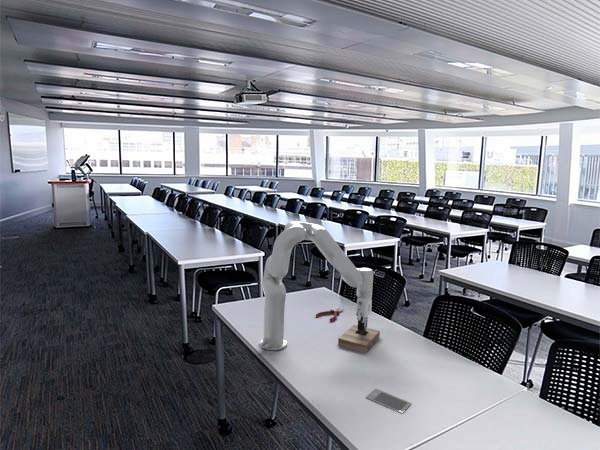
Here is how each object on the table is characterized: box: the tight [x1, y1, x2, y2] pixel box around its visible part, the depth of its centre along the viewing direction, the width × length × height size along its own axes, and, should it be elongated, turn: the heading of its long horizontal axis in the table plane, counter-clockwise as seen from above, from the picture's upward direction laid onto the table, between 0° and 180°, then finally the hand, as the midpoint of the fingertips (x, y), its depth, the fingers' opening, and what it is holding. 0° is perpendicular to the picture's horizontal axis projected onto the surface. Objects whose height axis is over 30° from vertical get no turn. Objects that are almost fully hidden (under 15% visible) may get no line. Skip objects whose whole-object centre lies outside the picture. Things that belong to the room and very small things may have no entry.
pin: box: [359, 315, 368, 335], centre depth 202 cm, size 4×4×9 cm
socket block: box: [337, 324, 381, 354], centre depth 201 cm, size 20×14×4 cm
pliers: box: [315, 307, 345, 323], centre depth 234 cm, size 12×20×3 cm, turn 143°
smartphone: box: [365, 388, 412, 412], centre depth 151 cm, size 15×8×1 cm, turn 51°
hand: (362, 327), depth 203 cm, fingers closed on pin, 3 cm apart
